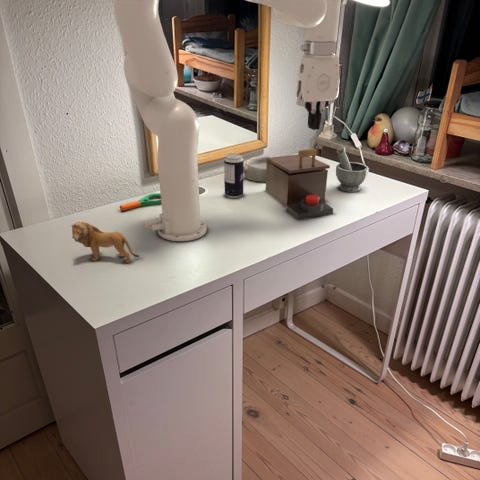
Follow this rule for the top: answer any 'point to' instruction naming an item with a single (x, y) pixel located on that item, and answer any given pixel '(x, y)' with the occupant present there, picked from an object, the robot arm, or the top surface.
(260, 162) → the dish
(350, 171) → the mortar and pestle
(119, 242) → the lion figurine
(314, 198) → the button
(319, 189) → the brown open box
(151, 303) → the top surface
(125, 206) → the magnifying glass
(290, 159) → the wooden box lid
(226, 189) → the beverage can
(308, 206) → the control block
